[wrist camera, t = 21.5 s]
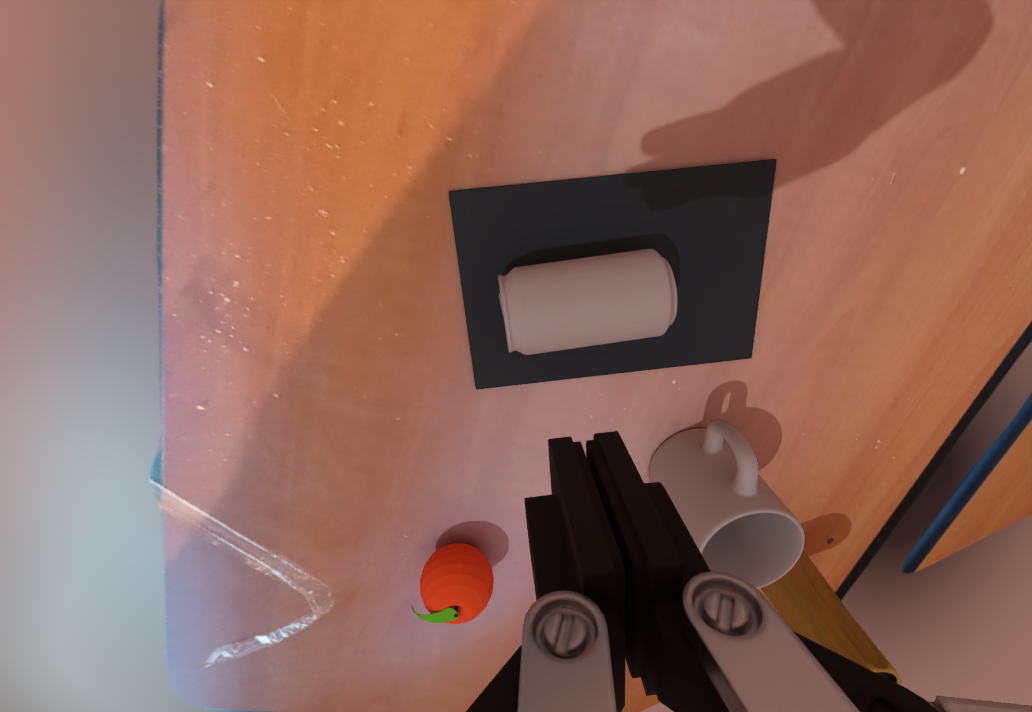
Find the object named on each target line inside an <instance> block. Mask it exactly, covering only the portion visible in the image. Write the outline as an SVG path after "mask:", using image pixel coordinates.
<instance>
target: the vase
mask: <svg viewBox="0 0 1032 712" xmlns="http://www.w3.org/2000/svg"><path fill="white" fill-rule="evenodd" d="M761 589H762V590H763V592H764V593H765V595H766V596H767V597H768V599H769V600H770V602H771V603H772V604H773V606H774V607H775V608H776V610H777V611H778V613H779V614H780V615H781V617H782V618H783V620H784V621H785V622H786V623H787V624H788V626H789V627H790V628H791V629H792V630H793V631H794V632H796V633H798V634H800V635H802V636H804V637H806V638H808V639H810V640H812V641H814V642H816V643H818V644H820V645H822V646H824V647H826V648H828V649H830V650H832V651H834V652H836V653H838V654H839V655H841V656H843V657H845V658H847V659H849V660H851V661H853V662H855V663H857V664H859V665H861V666H863V667H865V668H867V669H869V670H871V671H873V672H875V673H877V674H879V675H881V676H883V677H885V678H887V679H889V680H891V681H893V682H895V683H897V684H899V685H901V677H900V675H899V673H898V672H897V671H896V670H895V668H894V667H893V666H892V665H891V663H890V662H889V661H888V660H887V659H886V657H885V656H884V655H883V654H882V652H881V651H880V650H879V649H878V648H877V646H876V645H875V644H874V643H873V641H872V640H871V639H870V638H869V637H868V635H867V634H866V632H865V631H864V630H863V629H862V627H861V626H860V625H859V624H858V623H857V621H856V620H855V619H854V618H853V616H852V615H851V614H850V612H849V611H848V610H847V609H846V608H845V606H844V605H843V603H842V602H841V601H840V599H839V598H838V596H837V595H836V593H835V592H834V591H833V589H832V588H831V587H830V585H829V584H828V583H827V581H826V580H825V578H824V577H823V576H822V574H821V573H820V572H819V570H818V569H817V568H816V566H815V565H814V564H813V562H812V561H811V560H810V558H809V557H808V556H807V554H806V553H805V552H804V550H803V551H802V554H801V556H800V558H799V559H798V561H797V562H796V564H795V565H794V566H793V567H792V568H791V569H790V570H789V571H788V572H787V573H786V574H785V575H784V576H782V577H781V578H779V579H778V580H776V581H775V582H773V583H771V584H769V585H767V586H764V587H762V588H761Z"/></svg>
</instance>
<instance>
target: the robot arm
mask: <svg viewBox="0 0 1032 712" xmlns="http://www.w3.org/2000/svg"><path fill="white" fill-rule="evenodd" d="M548 447H549V461H550V475H551V489H552V495H546V496H538V497H529V498H525V509H526V519H527V529H528V538H529V546H530V554H531V562H532V569H533V577H534V584H535V592H536V599H537V601H536V602H534V603H533V604H532V605H531V607H530V609H529V610H528V612H527V613H526V616H525V620H524V624H523V635H522V645H521V646H520V647H519V648H518V650H517V651H516V652H515V653H514V654H513V656H512V657H511V658H510V659H509V661H508V662H507V663H506V664H505V665H504V667H503V668H502V669H501V670H500V671H499V673H498V674H497V675H496V676H495V677H494V679H493V680H492V681H491V682H490V683H489V685H488V686H487V687H486V688H485V689H484V691H483V692H482V693H481V694H480V695H479V697H478V698H477V699H476V700H475V701H474V703H473V704H472V705H471V706H470V707H469V709H468V710H467V711H466V712H621V711H622V710H623V708H624V706H625V658H626V661H627V665H628V668H629V671H630V674H631V676H632V678H638V677H641V680H642V683H643V686H644V689H645V692H646V696H648V695H655V694H657V697H658V700H659V701H660V702H661V703H662V704H664V705H666V706H667V707H668V708H670V709H671V710H672V711H674V712H1032V706H1029V705H1019V704H1010V703H1001V702H990V701H982V700H972V699H964V698H954V697H945V696H937V697H936V699H935V701H934V702H928V701H926V700H925V699H923V698H921V697H920V696H918V695H916V694H915V693H913V692H912V691H910V690H908V689H907V688H905V687H903V686H901V685H899V684H897V683H895V682H893V681H891V680H889V679H887V678H885V677H883V676H881V675H879V674H877V673H875V672H873V671H871V670H869V669H867V668H865V667H863V666H861V665H859V664H857V663H855V662H853V661H851V660H849V659H847V658H845V657H843V656H841V655H839V654H838V653H836V652H834V651H832V650H830V649H828V648H826V647H824V646H822V645H820V644H818V643H816V642H814V641H812V640H810V639H808V638H806V637H804V636H802V635H800V634H798V633H796V632H794V631H793V630H792V629H791V628H790V627H789V626H788V624H787V623H786V622H785V621H784V620H783V618H782V617H781V616H780V615H779V614H778V612H777V611H776V610H775V609H774V608H773V606H772V605H771V604H770V603H769V602H768V600H767V599H766V598H765V597H764V595H763V594H762V593H761V592H759V591H758V590H757V589H756V588H755V587H754V586H753V585H752V584H750V583H749V582H747V581H745V580H744V579H742V578H740V577H738V576H735V575H732V574H729V573H725V572H717V571H710V569H709V567H708V565H707V563H706V561H705V560H704V558H703V556H702V554H701V552H700V551H699V549H698V547H697V545H696V543H695V542H694V540H693V538H692V536H691V534H690V533H689V531H688V529H687V527H686V525H685V524H684V522H683V520H682V518H681V516H680V515H679V513H678V511H677V509H676V507H675V506H674V504H673V502H672V500H671V498H670V497H669V495H668V493H667V491H666V489H665V488H664V486H663V485H662V483H660V482H653V483H643V481H642V479H641V477H640V475H639V473H638V471H637V469H636V467H635V465H634V463H633V461H632V459H631V457H630V455H629V453H628V451H627V449H626V447H625V445H624V443H623V441H622V439H621V437H620V435H619V433H618V432H617V431H614V432H605V433H597V434H594V440H589V441H587V442H586V455H585V453H584V450H583V447H582V444H581V442H573V441H572V438H571V437H563V438H554V439H549V440H548ZM586 456H587V458H586Z"/></svg>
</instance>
